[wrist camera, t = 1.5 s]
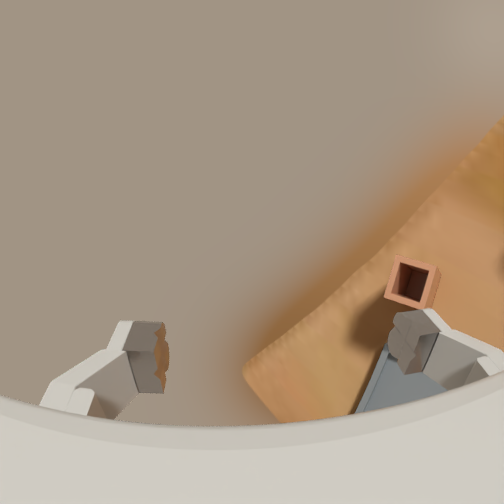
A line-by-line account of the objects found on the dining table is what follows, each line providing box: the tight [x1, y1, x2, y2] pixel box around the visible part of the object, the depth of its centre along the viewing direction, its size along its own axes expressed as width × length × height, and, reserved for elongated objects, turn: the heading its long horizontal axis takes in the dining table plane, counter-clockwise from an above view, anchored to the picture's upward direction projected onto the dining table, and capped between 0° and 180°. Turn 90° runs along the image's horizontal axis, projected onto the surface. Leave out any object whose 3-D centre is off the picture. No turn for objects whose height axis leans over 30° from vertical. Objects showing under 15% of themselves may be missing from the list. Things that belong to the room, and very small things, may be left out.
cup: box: [384, 255, 441, 309], centre depth 35 cm, size 5×5×11 cm
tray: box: [355, 342, 448, 414], centre depth 36 cm, size 14×16×2 cm
